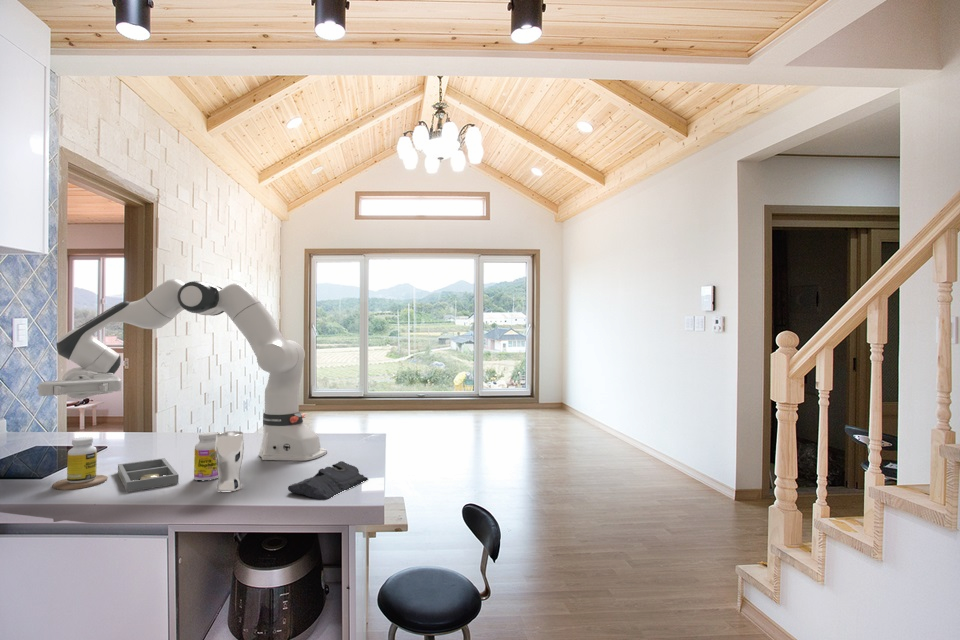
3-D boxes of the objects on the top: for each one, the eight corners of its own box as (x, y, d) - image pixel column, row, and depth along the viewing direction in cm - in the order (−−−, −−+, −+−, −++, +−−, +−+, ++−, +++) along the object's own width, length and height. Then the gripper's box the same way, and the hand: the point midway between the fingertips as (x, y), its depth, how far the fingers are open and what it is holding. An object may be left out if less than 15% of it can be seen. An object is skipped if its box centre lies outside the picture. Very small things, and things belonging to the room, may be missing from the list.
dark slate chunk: (277, 495, 137) (277, 477, 137) (329, 474, 158) (329, 458, 158) (326, 503, 132) (326, 484, 132) (373, 479, 153) (373, 463, 153)
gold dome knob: (162, 481, 148) (163, 474, 148) (150, 486, 144) (150, 478, 144) (149, 480, 149) (149, 473, 149) (136, 485, 145) (136, 477, 145)
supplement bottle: (193, 482, 146) (194, 436, 146) (194, 476, 152) (194, 432, 152) (220, 479, 149) (221, 434, 150) (219, 473, 155) (220, 430, 155)
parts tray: (117, 472, 156) (117, 464, 156) (164, 466, 163) (164, 458, 163) (126, 492, 138) (126, 482, 138) (178, 483, 145) (178, 474, 145)
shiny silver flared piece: (234, 483, 146) (235, 429, 146) (248, 488, 142) (248, 433, 142) (209, 489, 140) (210, 433, 140) (222, 495, 136) (223, 437, 136)
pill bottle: (80, 484, 142) (81, 441, 142) (60, 483, 143) (61, 440, 143) (102, 478, 148) (102, 437, 148) (83, 476, 149) (84, 435, 149)
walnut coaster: (117, 478, 150) (117, 476, 150) (76, 491, 138) (76, 489, 138) (84, 475, 152) (84, 473, 152) (41, 487, 141) (41, 485, 141)
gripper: (37, 376, 159) (36, 381, 148) (118, 372, 172) (123, 377, 162) (37, 397, 159) (36, 403, 148) (118, 391, 172) (123, 397, 162)
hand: (82, 389), depth 155 cm, fingers open, 8 cm apart
